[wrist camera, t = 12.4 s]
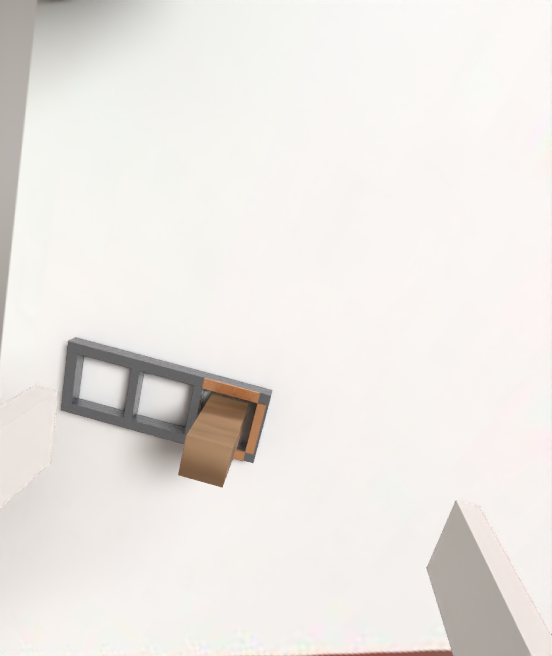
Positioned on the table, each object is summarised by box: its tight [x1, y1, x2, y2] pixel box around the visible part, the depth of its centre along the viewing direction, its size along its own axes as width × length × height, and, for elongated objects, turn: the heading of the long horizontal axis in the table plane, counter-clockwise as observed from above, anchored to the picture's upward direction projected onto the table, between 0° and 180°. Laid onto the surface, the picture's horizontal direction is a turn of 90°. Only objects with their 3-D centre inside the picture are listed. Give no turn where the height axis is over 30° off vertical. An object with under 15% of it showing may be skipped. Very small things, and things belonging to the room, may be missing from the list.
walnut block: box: [178, 393, 249, 487], centre depth 45 cm, size 4×4×10 cm
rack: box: [61, 337, 272, 463], centre depth 49 cm, size 9×24×2 cm, turn 76°
